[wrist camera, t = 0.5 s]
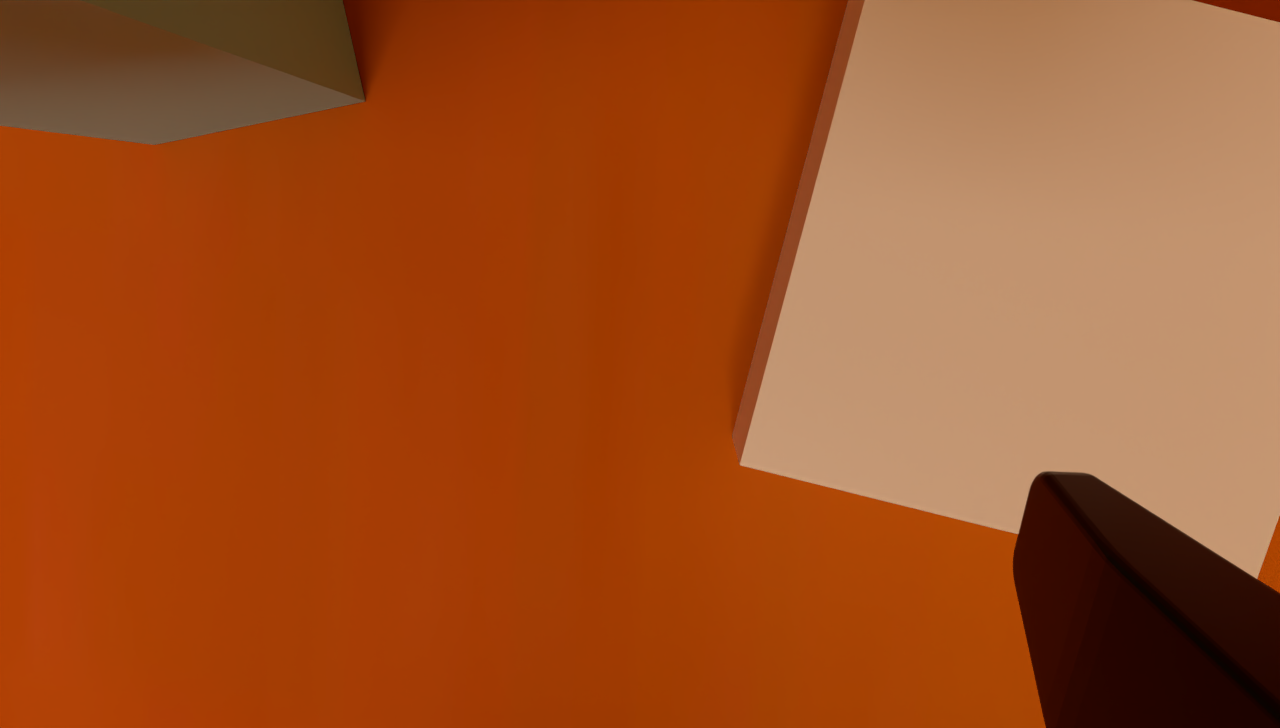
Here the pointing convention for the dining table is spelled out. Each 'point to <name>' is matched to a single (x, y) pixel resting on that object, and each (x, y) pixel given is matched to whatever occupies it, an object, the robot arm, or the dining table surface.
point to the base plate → (1035, 265)
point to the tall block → (171, 65)
